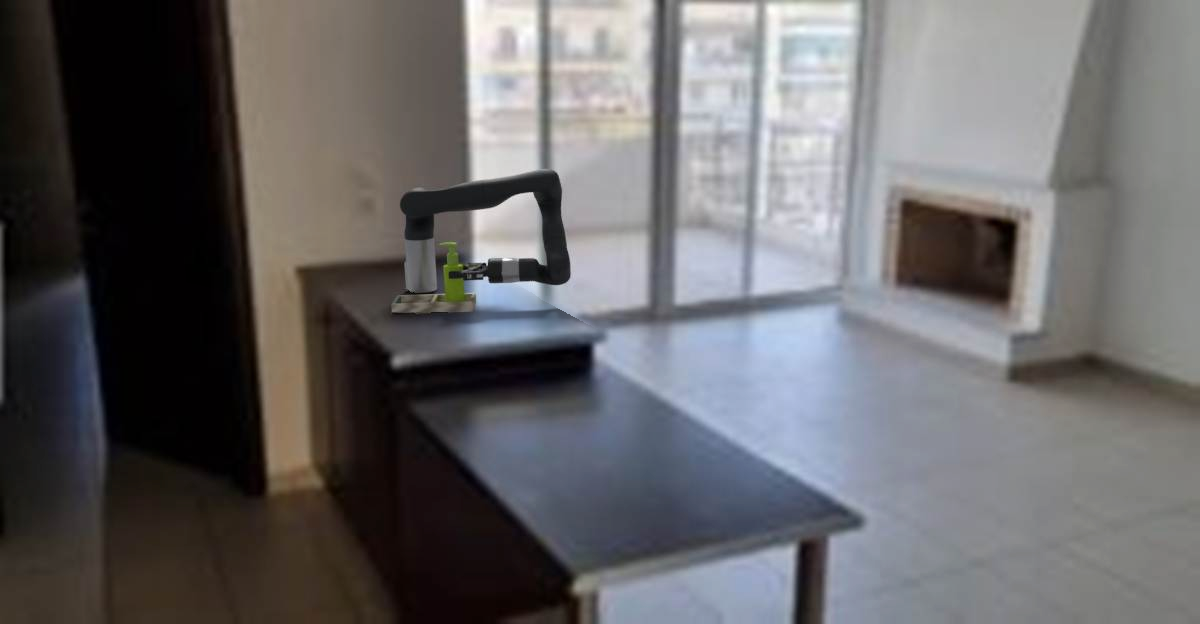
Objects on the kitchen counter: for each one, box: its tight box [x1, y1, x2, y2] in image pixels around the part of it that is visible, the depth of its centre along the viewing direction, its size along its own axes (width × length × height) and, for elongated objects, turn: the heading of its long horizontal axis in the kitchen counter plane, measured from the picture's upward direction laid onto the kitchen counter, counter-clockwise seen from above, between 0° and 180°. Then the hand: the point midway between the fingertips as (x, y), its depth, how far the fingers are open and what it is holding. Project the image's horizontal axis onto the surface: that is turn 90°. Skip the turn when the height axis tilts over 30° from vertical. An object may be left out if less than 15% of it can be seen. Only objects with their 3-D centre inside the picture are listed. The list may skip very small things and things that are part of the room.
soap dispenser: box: [438, 241, 466, 302], centre depth 313 cm, size 6×7×20 cm
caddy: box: [390, 292, 477, 314], centre depth 315 cm, size 24×12×3 cm, turn 92°
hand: (450, 272), depth 313 cm, fingers open, 8 cm apart
